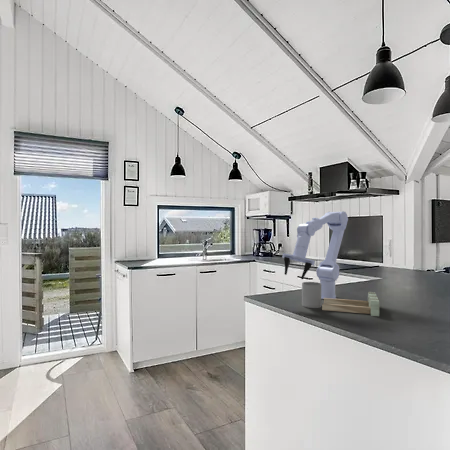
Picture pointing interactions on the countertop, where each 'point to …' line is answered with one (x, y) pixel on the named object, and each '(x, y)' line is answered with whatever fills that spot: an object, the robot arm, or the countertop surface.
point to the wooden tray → (353, 305)
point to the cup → (311, 294)
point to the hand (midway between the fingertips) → (293, 276)
